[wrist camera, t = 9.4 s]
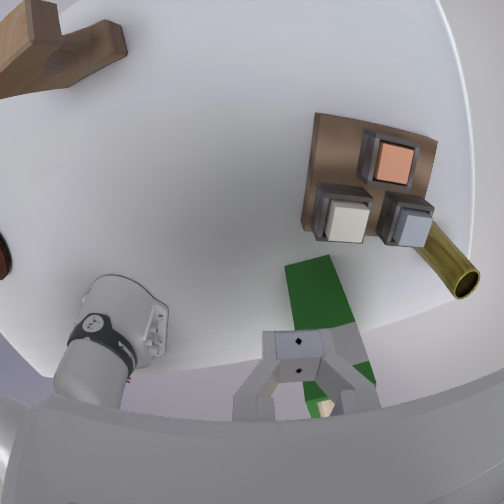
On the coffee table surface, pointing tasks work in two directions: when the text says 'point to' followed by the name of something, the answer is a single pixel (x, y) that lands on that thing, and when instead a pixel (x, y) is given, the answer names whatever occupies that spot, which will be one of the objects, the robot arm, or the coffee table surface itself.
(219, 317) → the coffee table surface
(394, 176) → the terracotta button
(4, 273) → the brown figurine
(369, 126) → the block sorting tray
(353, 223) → the cream button
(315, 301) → the hardback book
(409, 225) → the slate button
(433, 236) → the vase
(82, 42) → the decorative block
